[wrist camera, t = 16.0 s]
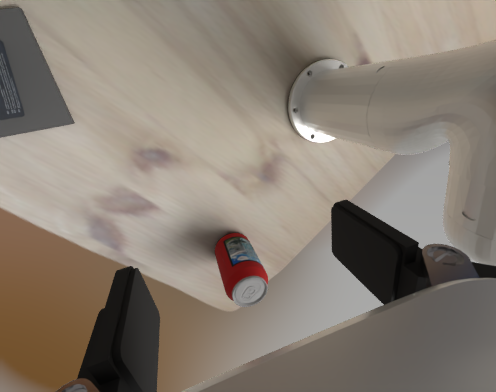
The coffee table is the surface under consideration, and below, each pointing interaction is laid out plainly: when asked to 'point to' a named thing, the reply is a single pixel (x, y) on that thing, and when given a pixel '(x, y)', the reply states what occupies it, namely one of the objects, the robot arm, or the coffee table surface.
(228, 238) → the beverage can
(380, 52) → the coffee table surface
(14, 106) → the box
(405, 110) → the robot arm
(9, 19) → the mat
